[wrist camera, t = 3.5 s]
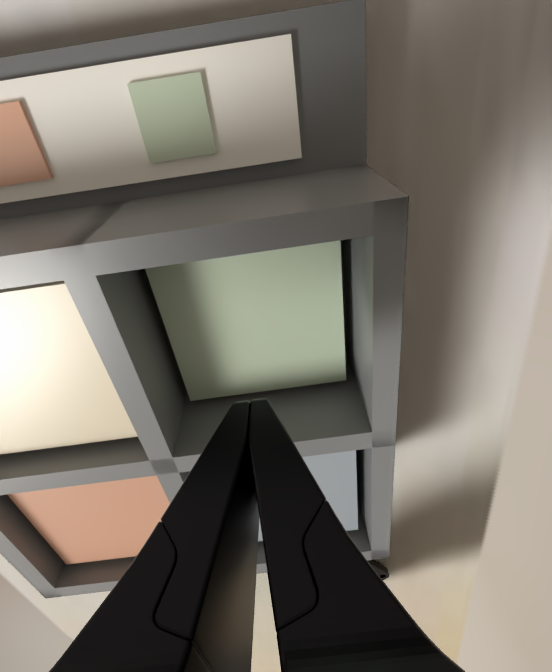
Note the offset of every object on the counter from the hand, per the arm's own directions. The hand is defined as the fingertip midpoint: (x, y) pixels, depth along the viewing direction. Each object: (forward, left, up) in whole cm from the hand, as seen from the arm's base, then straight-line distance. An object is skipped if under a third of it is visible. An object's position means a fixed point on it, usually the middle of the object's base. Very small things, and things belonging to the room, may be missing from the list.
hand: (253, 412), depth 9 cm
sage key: (0, 0, -6) cm, 6 cm away
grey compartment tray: (+1, +4, -8) cm, 9 cm away
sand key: (+4, +6, -4) cm, 9 cm away
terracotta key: (-2, +11, -4) cm, 12 cm away
